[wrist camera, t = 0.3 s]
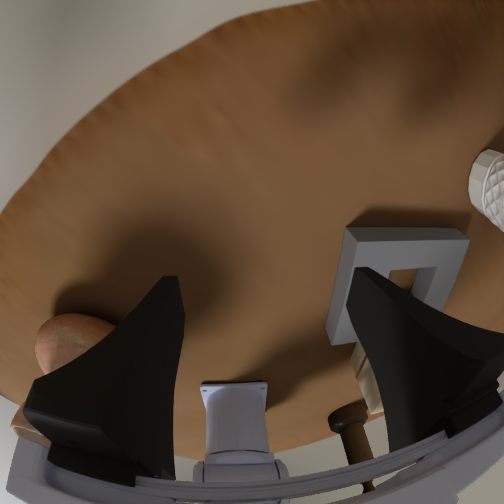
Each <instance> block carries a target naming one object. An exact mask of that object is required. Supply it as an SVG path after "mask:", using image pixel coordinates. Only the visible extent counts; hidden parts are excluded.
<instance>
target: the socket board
mask: <svg viewBox="0 0 504 504" xmlns="http://www.w3.org/2000/svg"><path fill="white" fill-rule="evenodd" d="M469 242H470V239H469V238H468V237H467V236H465V235H464V234H463V233H461V232H460V231H459V230H458V229H456V228H434V227H345V233H344V239H343V245H342V250H341V256H340V261H339V266H338V271H337V276H336V281H335V286H334V291H333V295H332V300H331V304H330V309H329V313H328V317H327V321H326V325H325V329H326V332H327V334H328V337H329V340H330V342H331V345H340V344H347V343H353V342H360V341H359V339H358V337H357V335H356V333H355V330H354V328H353V326H352V323H351V320H350V317H349V314H348V311H347V308H346V302H347V298H348V294H349V290H350V286H351V281H352V277H353V273H354V268H355V267H369V268H371V269H373V270H375V271H376V272H378V273H379V274H381V275H382V276H384V277H385V278H387V279H388V277H389V274H390V270H402V269H414V268H419V269H418V272H417V275H416V278H415V281H414V283H413V286H412V289H411V292H410V294H411V295H412V296H414V297H416V298H417V299H419V300H421V301H422V302H424V303H425V304H427V305H429V306H431V307H433V308H434V309H436V310H438V311H440V312H442V309H443V307H444V305H445V303H446V301H447V299H448V297H449V294H450V292H451V290H452V287H453V285H454V283H455V280H456V278H457V275H458V273H459V270H460V268H461V265H462V262H463V260H464V257H465V254H466V251H467V248H468V245H469Z"/></svg>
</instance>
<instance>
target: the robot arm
mask: <svg viewBox="0 0 504 504" xmlns="http://www.w3.org/2000/svg"><path fill="white" fill-rule="evenodd" d="M346 308H347V311H348V314H349V317H350V320H351V323H352V326H353V328H354V330H355V333H356V335H357V337H358V339H359V341H360V343H361V345H362V347H363V350H364V352H365V354H366V356H367V358H368V360H369V362H370V365H371V367H372V370H373V372H374V375H375V379H376V382H377V385H378V389H379V393H380V397H381V401H382V405H383V409H384V414H385V420H386V425H387V433H388V441H389V454H386V455H383V456H380V457H377V458H374V459H370V460H367V461H364V462H360V463H357V464H353V465H349V466H346V467H342V468H337V469H333V470H329V471H324V472H319V473H314V474H309V475H303V476H296V477H289V473H288V470H287V467H286V466H285V464H284V463H283V462H281V461H280V460H279V459H276V460H274V453H270V449H269V442H268V434H267V426H266V419H265V406H266V396H267V383H266V382H253V383H233V384H202V385H200V390H201V394H202V398H203V401H204V405H205V408H206V412H207V414H206V455H205V464H204V461H199V462H198V463H197V464H196V465H194V469H193V482H188V481H175V480H176V477H175V465H174V447H173V405H174V388H175V380H176V375H177V369H178V364H179V358H180V353H181V347H182V342H183V337H184V322H185V313H184V308H183V303H182V298H181V292H180V287H179V281H178V276H163V277H162V278H161V279H160V280H159V281H158V282H157V283H156V284H155V286H154V287H153V288H152V289H151V290H150V292H149V293H148V294H147V295H146V296H145V297H144V299H143V300H142V301H141V302H140V303H139V304H138V305H137V306H136V308H135V309H134V310H133V311H132V312H131V313H130V314H129V315H128V316H127V317H126V318H125V319H124V320H123V321H122V322H121V323H120V324H119V325H118V326H117V327H116V328H115V329H114V330H113V331H111V332H110V333H109V334H108V335H107V336H106V337H104V338H103V339H102V340H101V341H99V342H98V343H97V344H95V345H94V346H93V347H91V348H90V349H89V350H87V351H86V352H84V353H83V354H82V355H80V356H78V357H77V358H75V359H74V360H72V361H71V362H69V363H67V364H65V365H64V366H62V367H60V368H58V369H56V370H54V371H52V372H50V373H48V374H46V375H44V376H42V377H40V378H38V379H35V380H34V382H33V385H32V387H31V389H30V392H29V394H28V397H27V399H26V402H25V404H24V407H23V409H22V411H23V415H24V417H25V418H26V420H27V421H28V422H29V423H30V424H31V425H32V426H33V427H34V428H36V429H37V430H38V431H39V432H40V433H41V434H42V435H44V436H45V437H46V438H47V439H49V440H50V441H51V446H50V449H49V448H48V447H46V446H44V445H42V444H40V443H37V442H35V441H33V440H30V439H28V438H25V437H23V436H19V438H18V442H17V445H16V449H15V452H14V456H13V459H12V463H11V467H10V472H9V476H8V481H7V486H6V490H7V492H9V493H10V494H12V495H14V496H15V497H17V498H19V499H21V500H22V501H24V502H26V503H27V504H191V503H195V504H290V502H289V501H290V500H289V499H291V498H298V497H303V496H309V495H315V494H320V493H324V492H329V491H333V490H337V489H341V488H345V487H348V486H352V485H356V484H359V483H363V482H366V481H369V480H372V479H375V478H378V477H381V476H384V475H386V474H389V473H392V472H394V471H397V470H400V469H402V468H404V467H407V466H409V465H412V464H414V463H416V462H417V463H416V464H414V465H412V466H410V467H408V468H406V469H404V470H402V471H400V472H398V473H397V474H396V475H395V476H393V477H392V478H390V479H389V480H387V481H385V482H383V483H381V484H379V485H377V486H376V488H375V489H376V490H373V491H370V492H367V493H364V494H361V495H358V496H354V497H351V498H347V499H343V500H339V501H336V502H332V503H328V504H456V503H457V502H458V500H459V499H458V496H457V494H458V493H460V492H461V491H462V490H464V489H465V488H466V487H468V486H469V485H470V484H472V483H473V482H474V481H476V480H477V479H478V478H479V477H481V476H482V475H483V474H484V473H485V472H487V471H488V470H489V469H490V468H491V467H492V466H493V465H495V464H496V463H497V462H498V461H499V460H500V459H501V458H502V457H503V456H504V390H503V391H502V392H501V393H498V391H497V390H496V389H497V388H498V387H499V383H498V381H497V378H498V377H499V376H500V374H501V373H502V372H503V371H504V334H503V333H499V332H494V331H490V330H486V329H483V328H479V327H476V326H473V325H470V324H468V323H465V322H462V321H460V320H458V319H455V318H453V317H451V316H448V315H446V314H444V313H442V312H440V311H438V310H436V309H434V308H433V307H431V306H429V305H427V304H425V303H424V302H422V301H421V300H419V299H417V298H416V297H414V296H412V295H411V294H409V293H408V292H406V291H405V290H403V289H402V288H400V287H399V286H397V285H396V284H394V283H393V282H391V281H390V280H388V279H387V278H385V277H384V276H382V275H381V274H379V273H378V272H376V271H375V270H373V269H371V268H369V267H355V268H354V273H353V277H352V281H351V286H350V290H349V294H348V298H347V302H346ZM176 501H177V502H176ZM183 502H190V503H183Z"/></svg>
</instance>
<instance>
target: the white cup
mask: <svg viewBox="0 0 504 504" xmlns="http://www.w3.org/2000/svg"><path fill="white" fill-rule="evenodd" d="M468 192H469V196H470V201H471V203H472V205H473V206H474V207H475V208H476V209H477V210H478V211H479V212H480V213H482V214H483V215H485V216H486V217H487V218H489V220H490V221H491V222H492V223H493V224H495V225H496V226H497V227H499V228H500V229H501V230H502V231H503V232H504V154H502V153H500V152H497V151H494V150H491V149H488V150H486V151H483V152H481V153H480V154H479V156H478V157H477V159H476V160H475V161H474V163H473V166H472V169H471V172H470V175H469V187H468Z"/></svg>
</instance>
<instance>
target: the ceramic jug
mask: <svg viewBox="0 0 504 504" xmlns="http://www.w3.org/2000/svg"><path fill="white" fill-rule="evenodd" d="M116 327H117V326H115V325H113V324H111V323H109V322H107V321H105V320H102V319H100V318H97V317H93V316H89V315H84V314H76V313H70V314H62V315H58V316H55V317H53V318H51V319H49V320H48V321H46V322H45V323H44V324H43V325H42V326H41V327H40V329H39V331H38V333H37V336H36V341H35V351H36V356H37V360H38V362H39V364H40V367H41V368H42V370H43V372H44V373H45V375H46V374H48V373H50V372H52V371H54V370H56V369H58V368H60V367H62V366H64V365H65V364H67V363H69V362H71V361H72V360H74V359H75V358H77V357H78V356H80V355H82V354H83V353H84V352H86V351H87V350H89V349H90V348H91V347H93V346H94V345H95V344H97V343H98V342H99V341H101V340H102V339H103V338H104V337H106V336H107V335H108V334H109V333H110V332H111V331H113V330H114V329H115V328H116ZM25 402H26V401H25ZM25 402H24V403H23V404H22V406H21V407H20V408H19V410H18V411H17V413H16V414H15V416H14V418H13V420H12V423H11V429H12V431H13V432H14V433H15V435H16V436H17V437H18V438H19V436H23V437H25V438H28V439H30V440H33V441H35V442H37V443H40V444H42V445H44V446H46V447H48V448H49V449H50V446H51V441H50V440H49V439H47V438H46V437H45V436H44V435H42V434H41V433H40V432H39V431H38V430H37V429H36V428H34V427H33V426H32V425H31V424H30V423H29V422H28V421H27V420H26V418H25V417H24V415H23V411H22V409H23V407H24V404H25Z"/></svg>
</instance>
